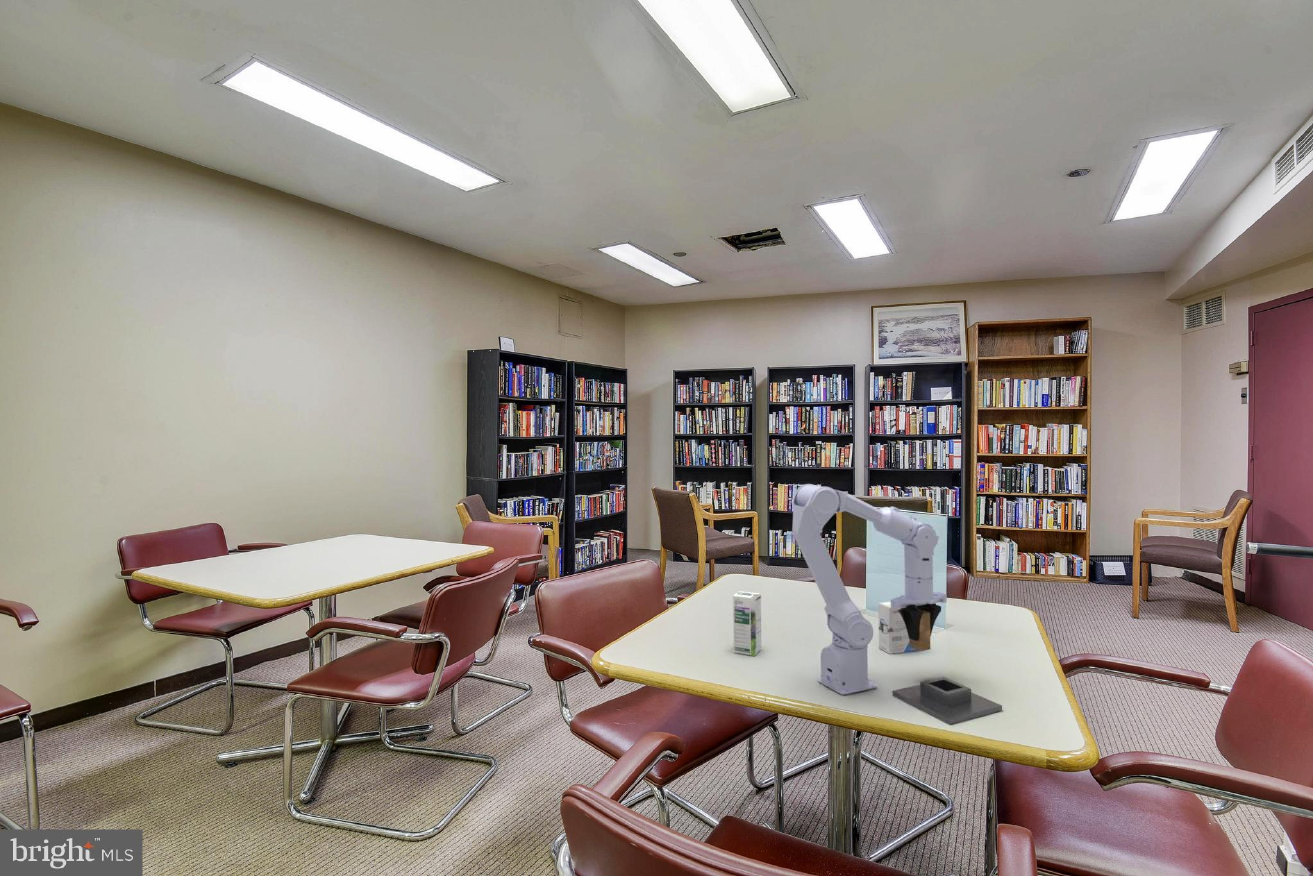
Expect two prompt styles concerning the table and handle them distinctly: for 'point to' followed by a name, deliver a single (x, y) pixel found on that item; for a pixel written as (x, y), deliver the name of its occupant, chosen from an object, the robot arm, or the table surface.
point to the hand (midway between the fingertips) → (919, 638)
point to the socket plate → (947, 700)
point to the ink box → (892, 630)
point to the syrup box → (747, 622)
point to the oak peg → (922, 634)
